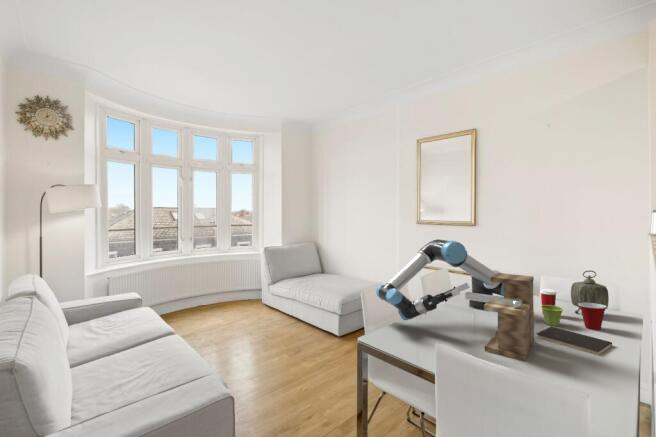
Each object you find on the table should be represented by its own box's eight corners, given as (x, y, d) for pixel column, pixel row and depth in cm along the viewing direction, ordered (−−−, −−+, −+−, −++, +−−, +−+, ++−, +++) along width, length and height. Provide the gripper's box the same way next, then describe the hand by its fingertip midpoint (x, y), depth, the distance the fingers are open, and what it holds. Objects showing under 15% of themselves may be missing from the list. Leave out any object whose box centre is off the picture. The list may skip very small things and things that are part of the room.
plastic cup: (593, 323, 160) (592, 300, 160) (613, 331, 149) (612, 307, 149) (572, 324, 159) (572, 301, 159) (591, 332, 149) (591, 308, 148)
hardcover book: (598, 357, 126) (598, 351, 126) (536, 338, 146) (536, 333, 146) (612, 347, 135) (612, 341, 134) (551, 330, 154) (551, 326, 154)
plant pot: (567, 327, 155) (567, 310, 155) (546, 327, 157) (546, 310, 157) (557, 321, 165) (557, 305, 164) (537, 320, 166) (537, 304, 166)
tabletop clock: (598, 312, 176) (597, 269, 175) (611, 318, 167) (610, 272, 166) (570, 312, 177) (570, 269, 177) (582, 317, 168) (581, 272, 168)
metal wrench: (463, 300, 140) (463, 294, 140) (469, 296, 146) (468, 290, 146) (519, 309, 125) (519, 302, 125) (523, 304, 131) (523, 298, 131)
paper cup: (551, 312, 178) (551, 288, 178) (560, 317, 170) (559, 292, 170) (537, 312, 179) (536, 288, 178) (545, 317, 171) (544, 292, 171)
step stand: (484, 350, 133) (483, 281, 132) (497, 334, 150) (496, 272, 150) (525, 361, 123) (524, 286, 122) (534, 341, 140) (533, 276, 140)
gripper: (439, 304, 164) (475, 289, 151) (419, 318, 145) (458, 302, 133) (432, 291, 166) (467, 275, 154) (411, 303, 147) (449, 285, 135)
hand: (463, 288), depth 143 cm, fingers open, 13 cm apart
